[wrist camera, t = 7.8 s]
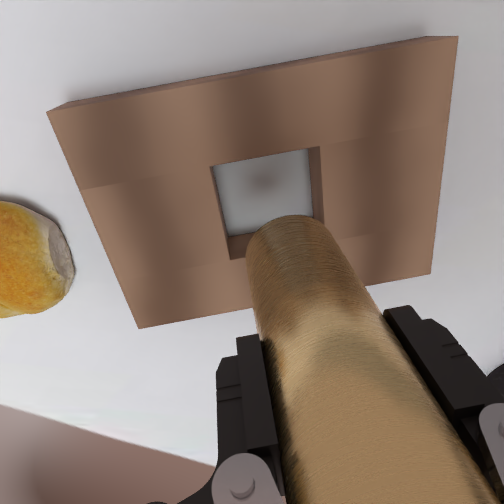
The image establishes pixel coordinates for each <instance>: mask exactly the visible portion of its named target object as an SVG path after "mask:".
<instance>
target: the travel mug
mask: <svg viewBox="0 0 504 504" xmlns="http://www.w3.org/2000/svg"><path fill="white" fill-rule="evenodd" d="M487 378H488V379H489V380H490V381H491V383H492V384H493V385H494V386H495V388H496V389H497V390H498V391H499V392H500V394H501V395H502V396H503V397H504V364H503V365H501V366H500V367H498V368H497V369H495V370H494V371H493V372H492V373H491V374H490V375H489V376H488V377H487Z"/></svg>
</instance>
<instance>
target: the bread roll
mask: <svg viewBox="0 0 504 504" xmlns="http://www.w3.org/2000/svg"><path fill="white" fill-rule="evenodd" d="M73 277H74V268H73V264H72V261H71V255H70V251H69V248H68V246H67V243H66V241H65V239H64V237H63V235H62V232H61V231H60V229H59V228H58V226H57V225H56V224H55V223H54V222H53V221H51V220H50V219H48V218H46V217H44V216H42V215H40V214H38V213H36V212H34V211H32V210H30V209H28V208H26V207H24V206H22V205H19V204H16V203H11V202H5V201H0V318H7V317H12V316H17V315H21V314H36V313H40V312H43V311H45V310H47V309H49V308H51V307H53V306H54V305H56V304H57V303H58V302H60V301H61V300H62V299H63V298H64V296H66V294H67V293H68V292H69V288H70V286H71V283H72V279H73Z"/></svg>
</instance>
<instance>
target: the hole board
mask: <svg viewBox="0 0 504 504" xmlns="http://www.w3.org/2000/svg"><path fill="white" fill-rule="evenodd" d="M457 44H458V36H425V37H420V38H414V39H409V40H404V41H398V42H393V43H387V44H382V45H376V46H371V47H366V48H360V49H355V50H349V51H344V52H338V53H333V54H328V55H322V56H317V57H311V58H306V59H300V60H295V61H290V62H284V63H279V64H273V65H268V66H262V67H257V68H252V69H246V70H241V71H235V72H230V73H224V74H219V75H214V76H208V77H203V78H197V79H192V80H186V81H181V82H176V83H170V84H165V85H159V86H154V87H148V88H143V89H138V90H132V91H127V92H121V93H116V94H110V95H105V96H100V97H94V98H89V99H83V100H78V101H72V102H67V103H65V104H63V105H60V106H58V107H56V108H54V109H52V110H50V111H47V112H46V113H47V116H48V118H49V120H50V123H51V125H52V127H53V130H54V132H55V134H56V137H57V139H58V141H59V144H60V146H61V148H62V151H63V153H64V155H65V158H66V160H67V162H68V165H69V167H70V170H71V172H72V174H73V177H74V179H75V181H76V184H77V186H78V188H79V191H80V193H81V195H82V198H83V200H84V202H85V205H86V207H87V209H88V212H89V214H90V216H91V219H92V221H93V223H94V226H95V228H96V230H97V233H98V235H99V237H100V240H101V242H102V245H103V247H104V249H105V252H106V254H107V256H108V259H109V261H110V263H111V266H112V268H113V270H114V273H115V275H116V277H117V280H118V282H119V284H120V287H121V289H122V291H123V294H124V296H125V298H126V301H127V303H128V305H129V308H130V310H131V312H132V315H133V317H134V319H135V322H136V324H137V327H138V329H142V328H148V327H153V326H158V325H163V324H169V323H174V322H179V321H185V320H190V319H195V318H200V317H206V316H211V315H216V314H222V313H227V312H232V311H237V310H243V309H248V308H253V305H252V299H251V293H250V287H249V281H248V275H247V269H246V263H245V254H246V249H247V246H248V244H249V242H250V240H251V238H252V237H253V235H254V234H255V233H256V232H254V233H249V234H244V235H238V236H233V237H228V235H227V231H226V226H225V222H224V217H223V212H222V208H221V203H220V199H219V194H218V189H217V185H216V180H215V176H214V171H213V167H212V166H214V165H219V164H225V163H230V162H236V161H241V160H246V159H252V158H257V157H262V156H268V155H273V154H279V153H284V152H289V151H295V150H300V149H305V148H308V154H309V167H310V180H311V193H312V206H313V219H316V220H318V221H319V222H321V223H322V224H323V225H325V226H326V227H327V229H328V230H329V231H330V233H331V234H332V236H333V237H334V239H335V241H336V242H337V244H338V245H339V247H340V248H341V250H342V252H343V253H344V255H345V256H346V258H347V260H348V261H349V263H350V264H351V266H352V267H353V269H354V271H355V272H356V274H357V275H358V277H359V278H360V280H361V282H362V283H363V285H364V286H370V285H375V284H380V283H385V282H391V281H396V280H401V279H407V278H412V277H417V276H422V275H428V274H430V273H431V265H432V256H433V248H434V239H435V231H436V222H437V214H438V205H439V197H440V188H441V180H442V171H443V163H444V154H445V146H446V137H447V129H448V120H449V112H450V103H451V95H452V86H453V78H454V69H455V61H456V52H457Z"/></svg>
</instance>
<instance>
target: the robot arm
mask: <svg viewBox="0 0 504 504" xmlns="http://www.w3.org/2000/svg"><path fill="white" fill-rule="evenodd" d="M383 316H384V318H385V320H386V321H387V323H388V324H389V326H390V328H391V329H392V331H393V332H394V334H395V335H396V337H397V339H398V340H399V342H400V343H401V345H402V347H403V348H404V350H405V351H406V353H407V354H408V356H409V358H410V359H411V361H412V362H413V364H414V366H415V367H416V369H417V370H418V372H419V373H420V375H421V377H422V378H423V380H424V381H425V383H426V385H427V386H428V388H429V389H430V391H431V392H432V394H433V396H434V397H435V399H436V400H437V402H438V404H439V405H440V407H441V408H442V410H443V411H444V413H445V415H446V416H447V418H448V419H449V421H450V423H451V424H452V426H453V427H454V429H455V430H456V432H457V434H458V435H459V437H460V438H461V440H462V442H463V443H464V445H465V446H466V448H467V449H468V451H469V453H470V454H471V456H472V457H473V459H474V460H475V462H476V464H477V465H478V467H479V468H480V470H481V472H482V473H483V475H484V476H485V478H486V479H487V481H488V483H489V484H490V486H491V487H492V489H493V491H494V492H495V494H496V495H497V497H498V498H499V500H500V502H501V503H502V504H504V397H503V396H502V395H501V394H500V392H499V391H498V390H497V389H496V388H495V386H494V385H493V384H492V383H491V381H490V380H489V379H488V378H487V377H486V375H485V374H484V373H483V372H482V371H481V369H480V368H479V367H478V366H477V364H476V363H475V362H474V361H473V360H472V358H471V357H470V356H468V355H467V352H466V351H465V350H464V349H463V347H462V346H461V345H459V344H458V341H457V340H456V339H455V338H454V337H453V335H452V334H451V333H450V332H449V330H448V329H447V328H445V327H444V326H442V325H440V324H439V323H437V322H436V321H434V320H433V319H431V318H430V319H425V320H422V319H421V318H420V317H419V315H418V314H417V313H416V311H415V310H414V309H413V308H412V307H411V306H410V305H406V306H401V307H396V308H391V309H385V310H384V312H383ZM236 344H237V354H238V355H236V356H230V357H225V358H222V360H221V362H220V364H219V367H218V369H217V371H216V389H217V392H216V395H217V430H218V461H217V465H216V468H215V471H214V473H213V475H212V477H211V478H210V480H209V481H208V482H207V483H206V484H205V486H204V487H203V488H201V489H200V490H199V491H197V492H196V493H194V494H193V495H191V496H189V497H188V498H186V499H184V500H183V501H181V502H179V503H177V504H284V503H283V500H282V498H281V496H285V492H284V486H283V480H282V474H281V466H280V465H281V455H280V449H279V444H278V438H277V432H276V427H275V421H274V416H273V410H272V404H271V399H270V393H269V387H268V382H267V376H266V370H265V365H264V359H263V354H262V348H261V342H260V337H259V333H258V334H253V335H248V336H243V337H237V338H236ZM148 504H167V503H163V502H151V503H148Z"/></svg>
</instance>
